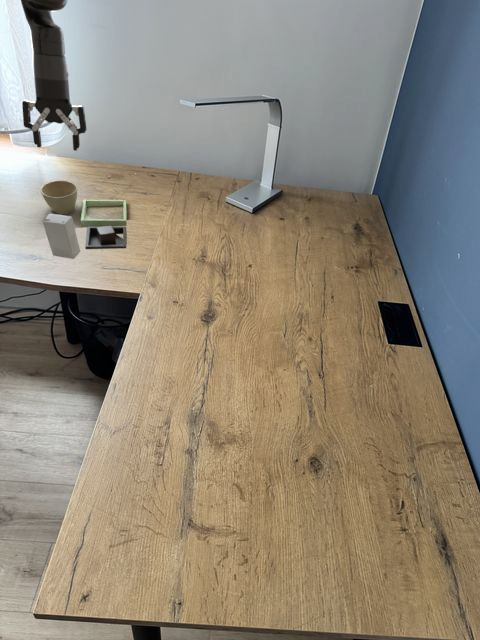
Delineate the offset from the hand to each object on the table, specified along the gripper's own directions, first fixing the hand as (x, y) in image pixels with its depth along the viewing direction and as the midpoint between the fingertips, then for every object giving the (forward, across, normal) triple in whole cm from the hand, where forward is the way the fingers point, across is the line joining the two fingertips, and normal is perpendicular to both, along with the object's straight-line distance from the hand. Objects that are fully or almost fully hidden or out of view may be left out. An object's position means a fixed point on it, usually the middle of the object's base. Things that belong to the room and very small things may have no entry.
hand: (57, 148), depth 127 cm
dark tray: (+24, +11, -2) cm, 27 cm away
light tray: (+22, +10, +13) cm, 27 cm away
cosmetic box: (+26, +1, -9) cm, 28 cm away
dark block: (+24, +11, -2) cm, 26 cm away
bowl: (+22, -2, +17) cm, 28 cm away
